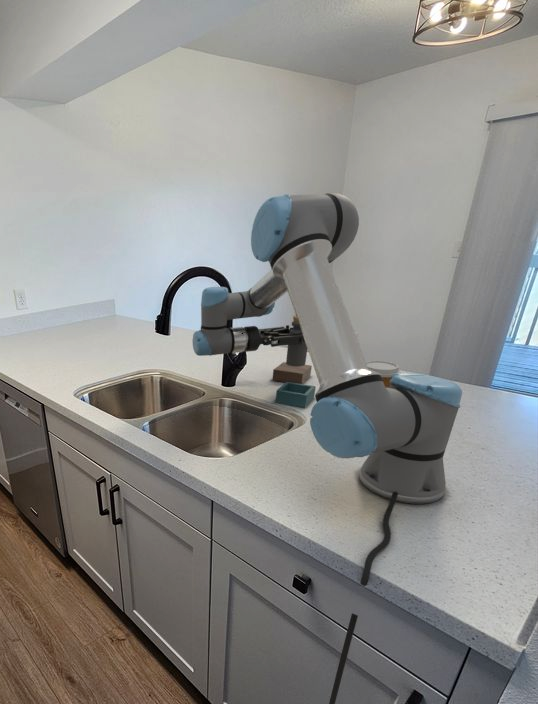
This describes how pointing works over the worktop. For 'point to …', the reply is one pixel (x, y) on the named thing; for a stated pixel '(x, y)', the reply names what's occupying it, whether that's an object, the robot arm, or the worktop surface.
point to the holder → (295, 394)
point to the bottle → (296, 348)
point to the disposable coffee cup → (384, 370)
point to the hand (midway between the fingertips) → (314, 332)
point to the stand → (291, 373)
